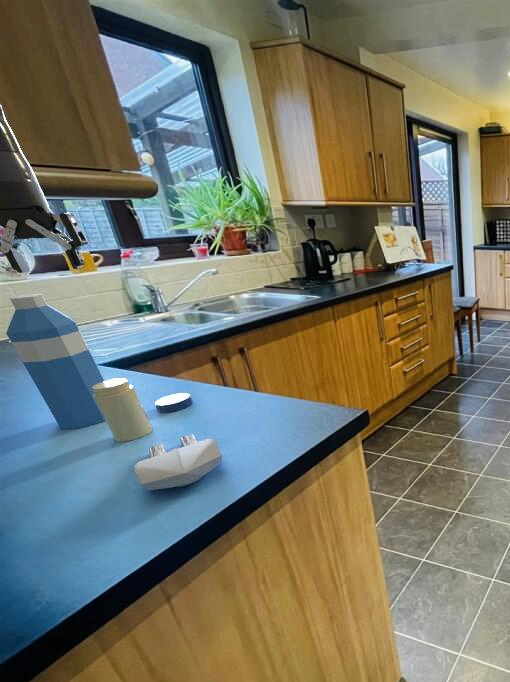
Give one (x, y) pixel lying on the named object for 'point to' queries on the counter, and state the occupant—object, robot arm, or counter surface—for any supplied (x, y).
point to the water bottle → (56, 360)
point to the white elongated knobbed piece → (178, 463)
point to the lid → (173, 402)
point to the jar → (121, 409)
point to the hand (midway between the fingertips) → (51, 270)
